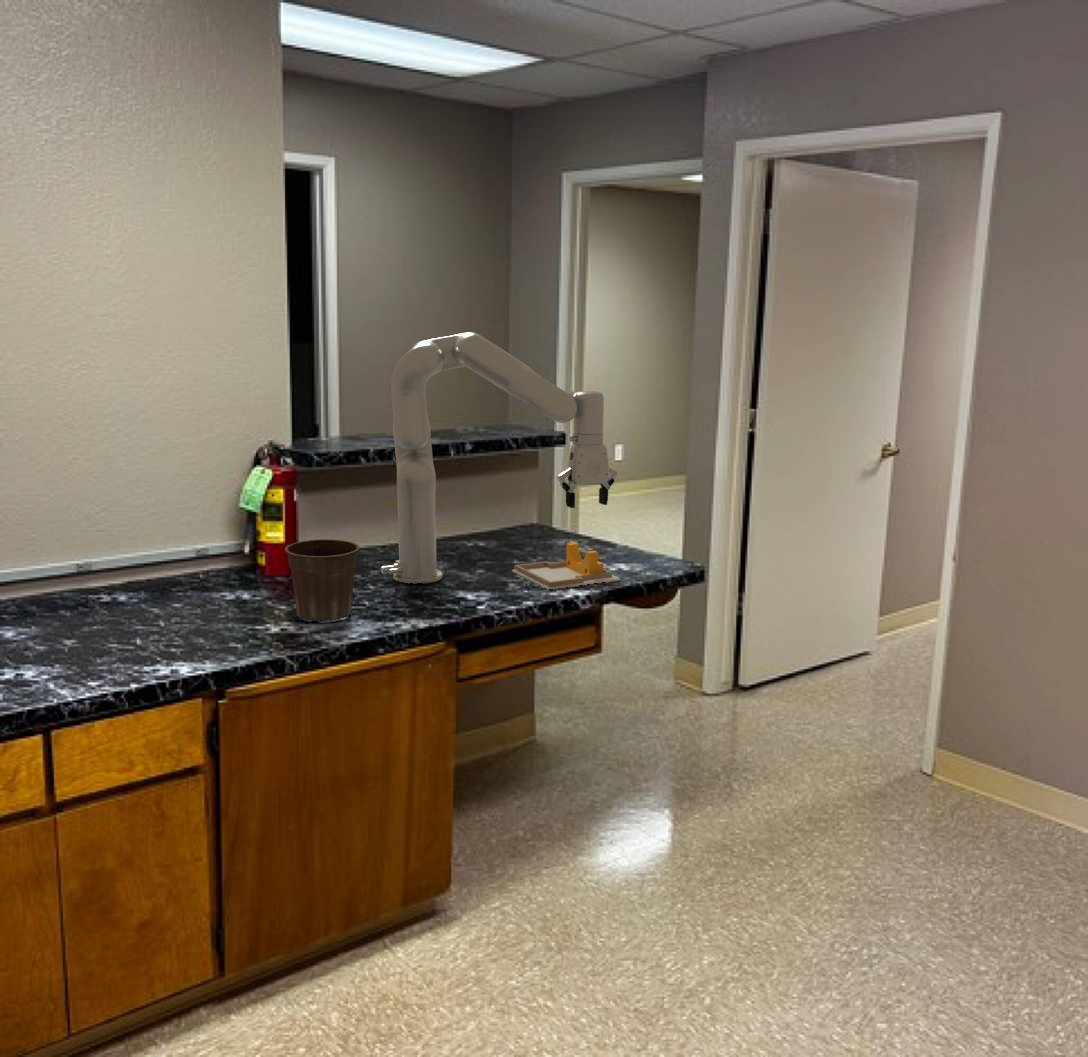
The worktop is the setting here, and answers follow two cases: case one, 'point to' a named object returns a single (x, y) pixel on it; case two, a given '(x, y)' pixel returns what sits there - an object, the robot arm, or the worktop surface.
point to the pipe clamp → (578, 564)
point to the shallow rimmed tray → (559, 575)
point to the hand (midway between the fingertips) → (586, 505)
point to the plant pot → (323, 577)
